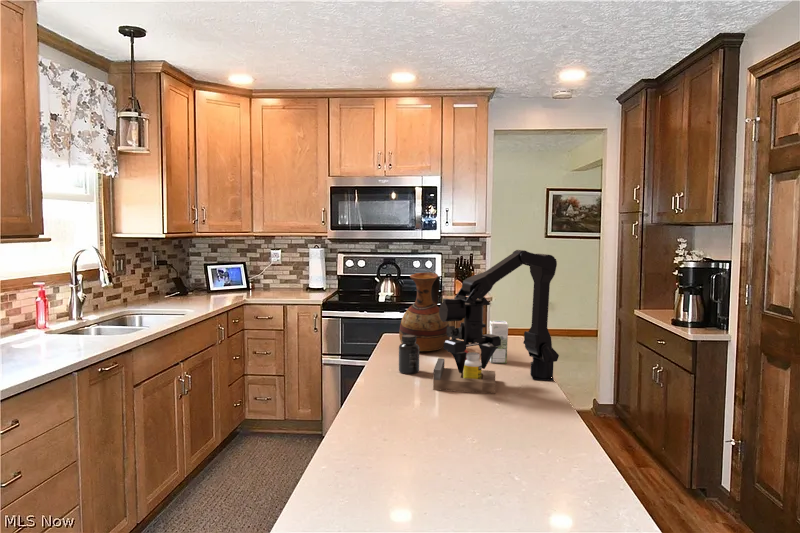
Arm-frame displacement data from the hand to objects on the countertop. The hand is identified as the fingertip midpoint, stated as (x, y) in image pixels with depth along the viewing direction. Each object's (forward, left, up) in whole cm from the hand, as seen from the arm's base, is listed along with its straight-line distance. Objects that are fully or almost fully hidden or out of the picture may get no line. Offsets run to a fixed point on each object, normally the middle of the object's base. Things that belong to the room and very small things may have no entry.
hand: (472, 370), depth 169 cm
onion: (+3, -15, -5) cm, 16 cm away
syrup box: (-8, -31, -5) cm, 32 cm away
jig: (+2, 0, -4) cm, 5 cm away
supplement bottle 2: (0, 0, -5) cm, 5 cm away
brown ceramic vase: (+20, -45, -5) cm, 49 cm away
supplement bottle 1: (+21, -11, -5) cm, 24 cm away
